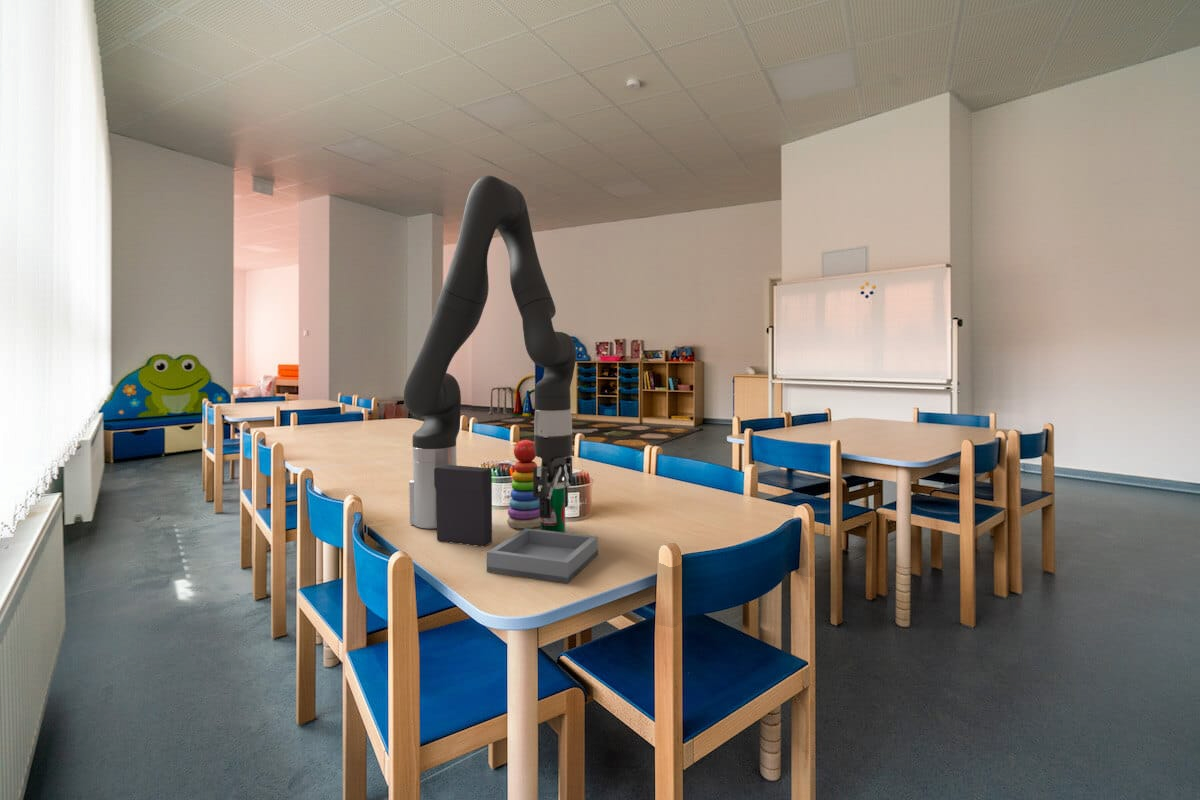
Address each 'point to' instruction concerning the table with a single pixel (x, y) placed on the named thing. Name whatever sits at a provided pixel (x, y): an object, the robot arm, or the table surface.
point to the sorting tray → (543, 555)
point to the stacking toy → (523, 489)
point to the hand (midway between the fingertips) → (554, 512)
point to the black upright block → (464, 504)
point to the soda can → (556, 511)
